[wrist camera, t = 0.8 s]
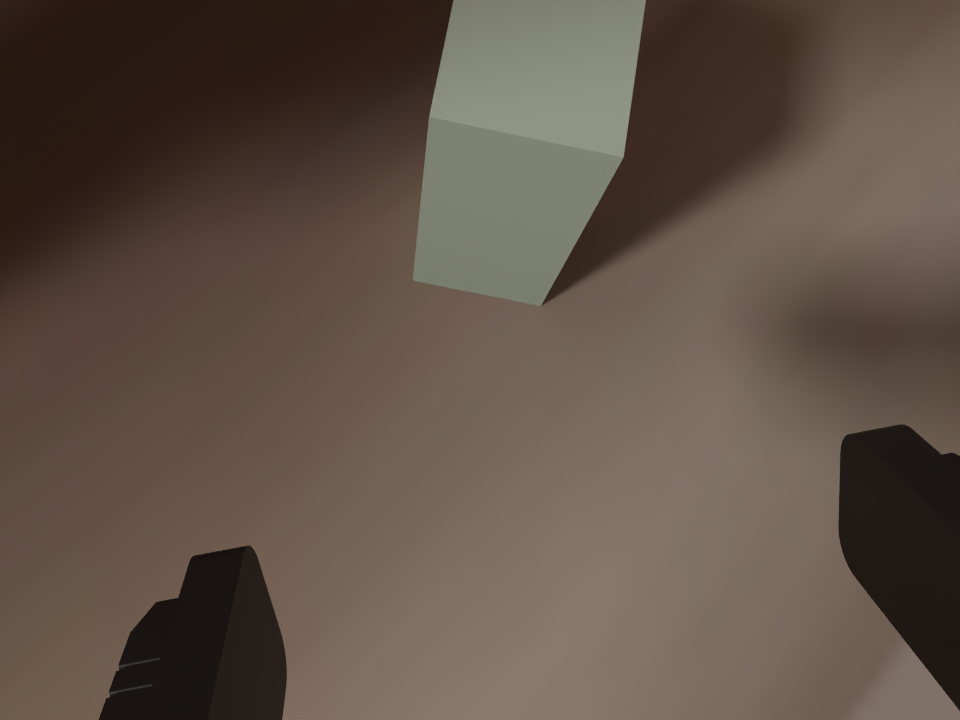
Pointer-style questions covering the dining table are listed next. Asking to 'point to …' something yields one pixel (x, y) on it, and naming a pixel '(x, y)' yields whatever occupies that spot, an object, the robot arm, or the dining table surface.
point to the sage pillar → (522, 139)
